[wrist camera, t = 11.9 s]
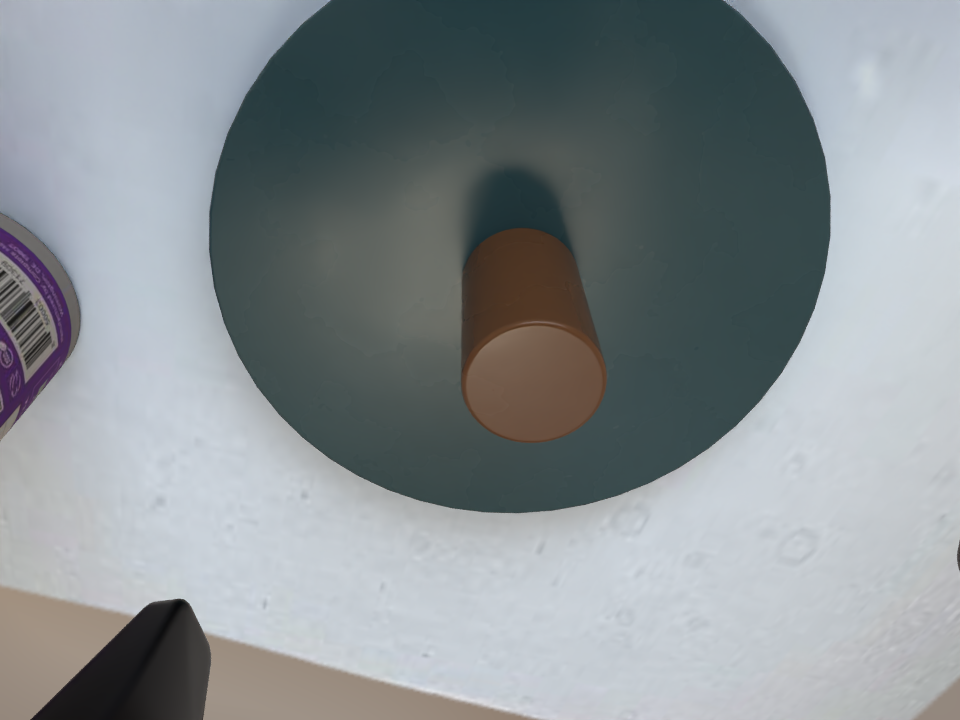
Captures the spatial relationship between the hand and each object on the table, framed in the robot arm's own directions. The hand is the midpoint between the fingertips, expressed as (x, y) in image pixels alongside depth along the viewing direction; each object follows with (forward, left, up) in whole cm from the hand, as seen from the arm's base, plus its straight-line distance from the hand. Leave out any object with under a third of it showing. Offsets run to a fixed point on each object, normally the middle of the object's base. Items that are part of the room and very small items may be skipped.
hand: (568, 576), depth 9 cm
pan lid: (0, 0, -9) cm, 9 cm away
